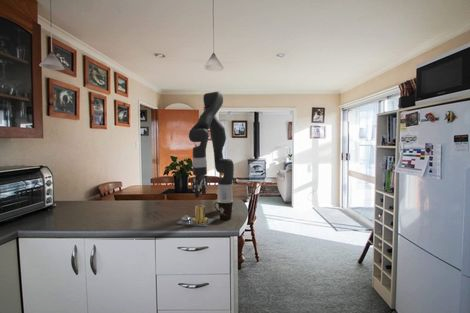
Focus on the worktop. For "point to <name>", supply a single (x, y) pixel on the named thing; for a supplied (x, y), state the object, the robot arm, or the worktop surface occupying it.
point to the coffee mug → (224, 209)
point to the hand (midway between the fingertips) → (200, 196)
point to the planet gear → (200, 214)
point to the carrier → (188, 221)
